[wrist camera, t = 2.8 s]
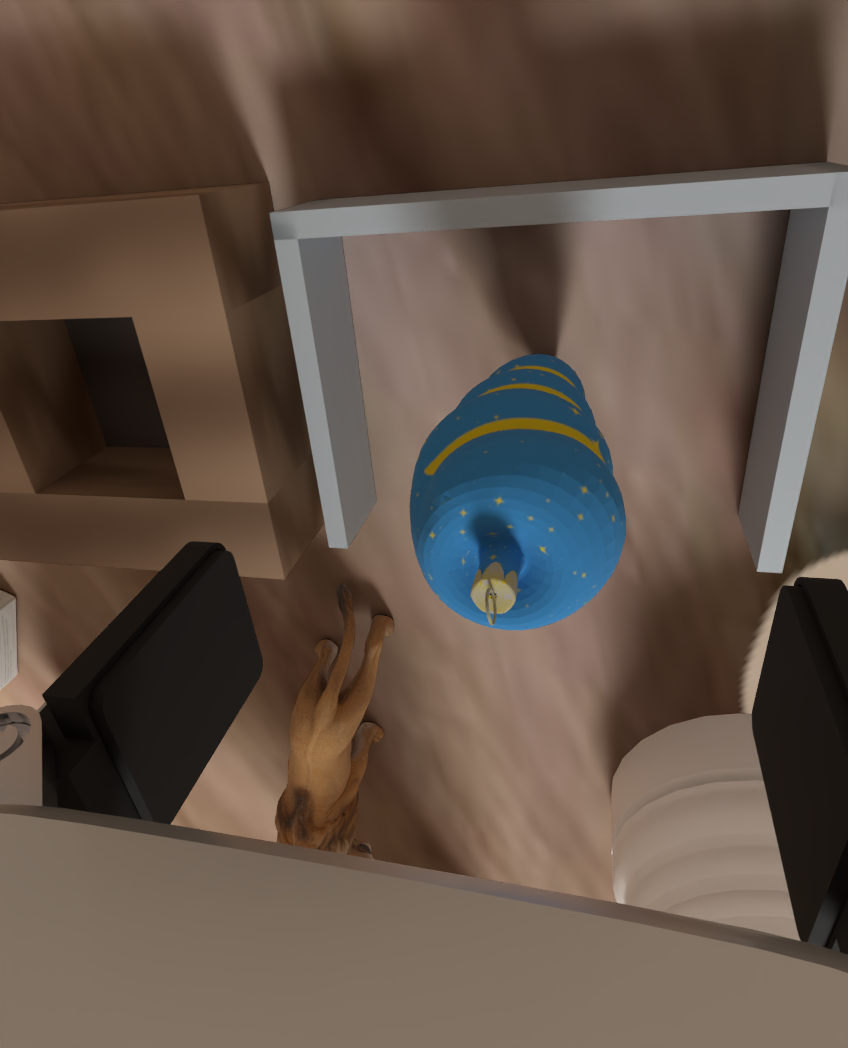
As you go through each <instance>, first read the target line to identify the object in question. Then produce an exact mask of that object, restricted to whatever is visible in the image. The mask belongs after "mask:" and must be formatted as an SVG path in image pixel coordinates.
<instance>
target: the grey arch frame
mask: <svg viewBox="0 0 848 1048" xmlns="http://www.w3.org/2000/svg"><path fill="white" fill-rule="evenodd" d="M786 209H791V210H790V216H789V222H788V228H787V233H786V239H785V245H784V251H783V257H782V262H781V268H780V274H779V280H778V285H777V291H776V297H775V303H774V309H773V314H772V320H771V326H770V332H769V338H768V343H767V349H766V355H765V361H764V367H763V372H762V378H761V384H760V390H759V396H758V401H757V407H756V413H755V419H754V425H753V430H752V436H751V442H750V448H749V454H748V459H747V465H746V471H745V477H744V483H743V488H742V494H741V500H740V506H739V512H738V517H739V520H740V523H741V526H742V529H743V532H744V535H745V538H746V541H747V544H748V547H749V550H750V553H751V556H752V559H753V562H754V565H755V568H756V571H757V572H771V573H782V571H783V567H784V562H785V558H786V553H787V549H788V544H789V540H790V535H791V530H792V526H793V521H794V517H795V512H796V508H797V503H798V499H799V494H800V490H801V485H802V481H803V476H804V472H805V467H806V463H807V458H808V453H809V449H810V444H811V440H812V435H813V431H814V426H815V422H816V417H817V413H818V408H819V404H820V399H821V395H822V390H823V386H824V381H825V377H826V372H827V367H828V363H829V358H830V354H831V349H832V345H833V340H834V336H835V331H836V327H837V322H838V318H839V313H840V309H841V304H842V300H843V295H844V290H845V286H846V281H847V277H848V166H847V165H842V164H836V163H831V162H819V163H806V164H793V165H779V166H766V167H752V168H739V169H726V170H712V171H699V172H685V173H672V174H658V175H645V176H632V177H618V178H605V179H591V180H578V181H565V182H551V183H538V184H524V185H511V186H497V187H484V188H471V189H457V190H444V191H430V192H417V193H404V194H390V195H377V196H363V197H350V198H336V199H323V200H314V201H310V202H307V203H303V204H299V205H296V206H292V207H288V208H285V209H281V210H277V211H274V212H270V213H269V214H270V220H271V226H272V231H273V237H274V242H275V248H276V254H277V259H278V265H279V270H280V276H281V282H282V287H283V293H284V298H285V304H286V309H287V315H288V321H289V326H290V332H291V337H292V343H293V349H294V354H295V360H296V365H297V371H298V377H299V382H300V388H301V393H302V399H303V405H304V410H305V416H306V421H307V427H308V432H309V438H310V444H311V449H312V455H313V460H314V466H315V472H316V477H317V483H318V488H319V494H320V500H321V505H322V511H323V516H324V522H325V528H326V533H327V539H328V544H329V548H345V549H348V548H349V546H350V544H351V543H352V541H353V539H354V538H355V536H356V534H357V533H358V531H359V529H360V528H361V526H362V524H363V523H364V521H365V519H366V518H367V516H368V515H369V513H370V511H371V510H372V508H373V506H374V505H375V503H376V494H375V486H374V479H373V471H372V463H371V456H370V448H369V441H368V433H367V426H366V418H365V410H364V403H363V395H362V388H361V380H360V373H359V365H358V357H357V350H356V342H355V335H354V327H353V320H352V312H351V305H350V297H349V289H348V282H347V274H346V267H345V259H344V252H343V244H342V236H355V235H371V234H388V233H404V232H421V231H438V230H454V229H471V228H487V227H504V226H521V225H537V224H554V223H570V222H587V221H604V220H620V219H637V218H653V217H670V216H686V215H703V214H720V213H736V212H753V211H769V210H786Z"/></svg>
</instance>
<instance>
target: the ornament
mask: <svg viewBox="0 0 848 1048" xmlns="http://www.w3.org/2000/svg"><path fill="white" fill-rule="evenodd" d="M410 520H411V533H412V539H413V543H414V548H415V553H416V556H417V560H418V562H419V565H420V568H421V570H422V572H423V575H424V577H425V579H426V580H427V582H428V584H429V585H430V587H431V589H432V590H433V591H434V593H435V594H436V595H437V596H438V597H439V598H440V600H441V601H443V602H444V603H445V604H446V605H447V606H448V607H449V608H451V609H452V610H453V611H455V612H456V613H458V614H460V615H461V616H463V617H464V618H467V619H469V620H471V621H473V622H475V623H478V624H481V625H484V626H488V627H491V628H497V629H503V630H527V629H534V628H539V627H542V626H545V625H548V624H551V623H554V622H557V621H559V620H561V619H563V618H566V617H567V616H569V615H571V614H572V613H574V612H576V611H577V610H578V609H580V608H581V607H582V606H583V605H585V604H586V603H587V602H589V601H590V600H591V599H592V598H593V597H594V596H595V595H596V594H597V593H598V592H599V591H600V589H601V588H602V587H603V586H604V584H605V583H606V582H607V580H608V579H609V578H610V576H611V575H612V573H613V571H614V569H615V568H616V565H617V563H618V561H619V558H620V555H621V551H622V548H623V545H624V541H625V535H626V516H625V509H624V503H623V499H622V495H621V492H620V489H619V487H618V485H617V482H616V480H615V478H614V477H613V466H612V460H611V456H610V451H609V448H608V446H607V444H606V442H605V439H604V437H603V435H602V433H601V432H600V431H599V429H598V428H597V426H596V425H595V420H594V417H593V414H592V410H591V409H590V407H589V405H588V403H587V402H586V399H585V393H584V389H583V386H582V384H581V381H580V379H579V378H578V376H577V374H576V373H575V372H574V370H573V369H572V368H571V367H570V366H569V365H568V364H566V363H565V362H563V361H562V360H560V359H558V358H556V357H554V356H551V355H546V354H532V355H527V356H523V357H520V358H517V359H514V360H512V361H510V362H508V363H506V364H505V365H503V366H501V367H500V368H499V369H497V370H496V371H495V372H494V373H493V374H492V375H491V376H490V377H489V378H488V379H486V380H485V381H483V382H481V383H480V384H478V385H477V386H476V387H474V388H473V389H472V390H471V391H470V392H469V393H468V394H467V395H466V396H465V397H464V398H463V399H462V400H461V402H460V403H459V405H458V406H457V408H456V409H455V410H454V411H452V412H451V413H450V414H449V415H447V416H446V417H445V418H444V419H443V420H442V421H441V422H440V423H439V424H438V425H437V426H436V428H435V429H434V430H433V431H432V432H431V434H430V435H429V436H428V438H427V439H426V441H425V443H424V445H423V447H422V449H421V451H420V454H419V457H418V460H417V463H416V466H415V470H414V475H413V482H412V489H411V497H410Z"/></svg>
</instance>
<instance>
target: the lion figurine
mask: <svg viewBox="0 0 848 1048" xmlns="http://www.w3.org/2000/svg"><path fill="white" fill-rule="evenodd" d="M337 595H338V599H339V608H340V610H341V612H342V615H343V618H344V630H345V631H344V638H343V642H342V646H341V650H340V653H339V657H338V659H337V662H336V665H335V667H334V670H333V672H332V674H331V677H330V679H329V681H328V670H329V667H330V665H331V663H332V661H333V660H334V658H335V657H336V655H337V652H338V647H337V646H336V645H335V644H334V643H333V642H332V641H330V640H326V639H325V640H321V641H320V642H319V643H318V644H317V646H316V649H315V650H316V653H317V655H318V657H319V658H318V661H317V663H316V664H315V666H314V668H313V670H312V672H311V673H310V675H309V676H308V678H307V680H306V681H305V683H304V684H303V686H302V687H301V689H300V691H299V694H298V697H297V700H296V703H295V706H294V709H293V712H292V716H291V727H290V736H289V741H290V746H291V753H290V758H289V762H288V770H289V774H288V784H287V787H286V789H285V790H284V792H283V794H282V795H281V797H280V799H279V801H278V806H277V813H276V817H275V825H276V828H277V831H278V835H277V843H282V844H288V845H293V846H299V847H305V848H311V849H317V850H322V851H328V852H334V853H340V854H345V855H351V856H357V857H363V858H368V859H374V858H373V857H372V855H371V846H370V844H369V843H367V842H360V841H357V840H355V835H356V833H357V829H358V823H357V822H356V821H355V818H356V815H357V812H358V787H359V785H360V782H361V780H362V778H363V776H364V773H365V770H366V767H367V762H368V752H369V748H370V744H371V743H373V742H378V741H380V739H381V738H382V737H383V736H384V732H383V730H382V729H381V728H380V727H379V726H378V725H376V724H375V723H369V722H365V723H363V724H362V725H361V726H360V727H359V728H358V726H359V724H360V722H361V720H362V718H363V716H364V713H365V711H366V709H367V707H368V705H369V703H370V700H371V697H372V693H373V690H374V686H375V681H376V676H377V669H378V661H379V656H380V652H381V650H382V646H383V638H384V637H388V636H389V635H390V634H391V633H392V632H393V630H394V622H393V620H392V619H391V618H390V617H387V616H384V615H377V616H375V617H374V618H373V620H372V623H371V628H370V632H369V634H368V637H367V639H366V643H365V650H364V653H365V654H364V659H363V663H362V666H361V668H360V670H359V671H358V673H357V675H356V676H355V678H354V679H353V681H352V682H351V683H350V685H349V686H348V687H347V688H346V689H345V690H344V691H343V692H342V693H340V694H339V692H340V689H341V686H342V683H343V680H344V677H345V674H346V671H347V667H348V664H349V660H350V657H351V653H352V649H353V645H354V639H355V621H354V615H353V608H352V601H353V595H352V594H351V593H350V591H349V589H348V587H347V586H345V585H344V584H339V585H338V586H337ZM357 728H358V730H357ZM356 730H357V731H356ZM355 732H356V735H355V741H354V747H353V750H352V753H351V739H352V738H353V736H354V734H355Z"/></svg>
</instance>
